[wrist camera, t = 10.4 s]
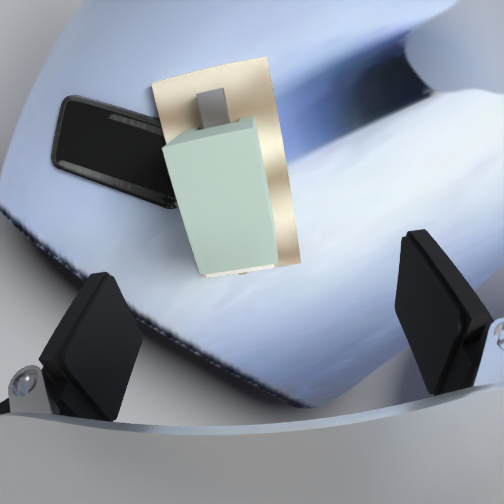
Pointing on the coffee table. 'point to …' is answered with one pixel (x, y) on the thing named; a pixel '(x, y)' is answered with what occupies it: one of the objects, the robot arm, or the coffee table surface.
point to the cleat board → (229, 111)
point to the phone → (113, 149)
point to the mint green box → (224, 197)
